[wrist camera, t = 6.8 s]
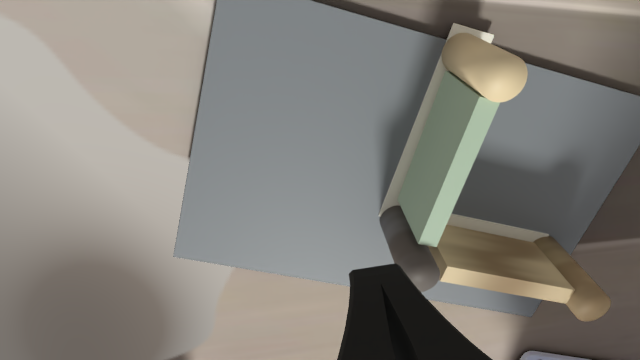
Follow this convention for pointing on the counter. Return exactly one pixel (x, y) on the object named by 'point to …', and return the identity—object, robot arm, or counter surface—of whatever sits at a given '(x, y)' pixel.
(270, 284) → the counter surface
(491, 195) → the card
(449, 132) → the green slab with caps
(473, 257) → the fixed fence section
